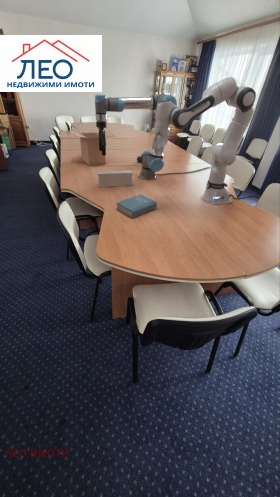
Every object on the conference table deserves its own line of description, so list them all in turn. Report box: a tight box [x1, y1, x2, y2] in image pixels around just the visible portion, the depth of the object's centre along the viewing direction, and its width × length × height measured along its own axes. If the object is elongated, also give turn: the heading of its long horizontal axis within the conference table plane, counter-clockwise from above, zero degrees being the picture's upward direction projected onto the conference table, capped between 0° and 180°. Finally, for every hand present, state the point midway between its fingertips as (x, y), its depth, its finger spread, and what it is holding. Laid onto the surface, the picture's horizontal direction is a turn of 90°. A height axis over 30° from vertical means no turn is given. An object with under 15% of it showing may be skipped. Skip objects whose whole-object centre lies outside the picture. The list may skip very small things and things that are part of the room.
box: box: [70, 129, 114, 166], centre depth 229 cm, size 44×36×27 cm
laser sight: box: [136, 153, 143, 164], centre depth 240 cm, size 10×22×10 cm, turn 78°
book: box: [115, 194, 158, 219], centre depth 150 cm, size 23×16×5 cm
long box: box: [97, 169, 134, 188], centre depth 183 cm, size 28×6×11 cm, turn 107°
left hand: (102, 153), depth 168 cm, fingers open, 13 cm apart
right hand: (158, 154), depth 146 cm, fingers open, 8 cm apart
